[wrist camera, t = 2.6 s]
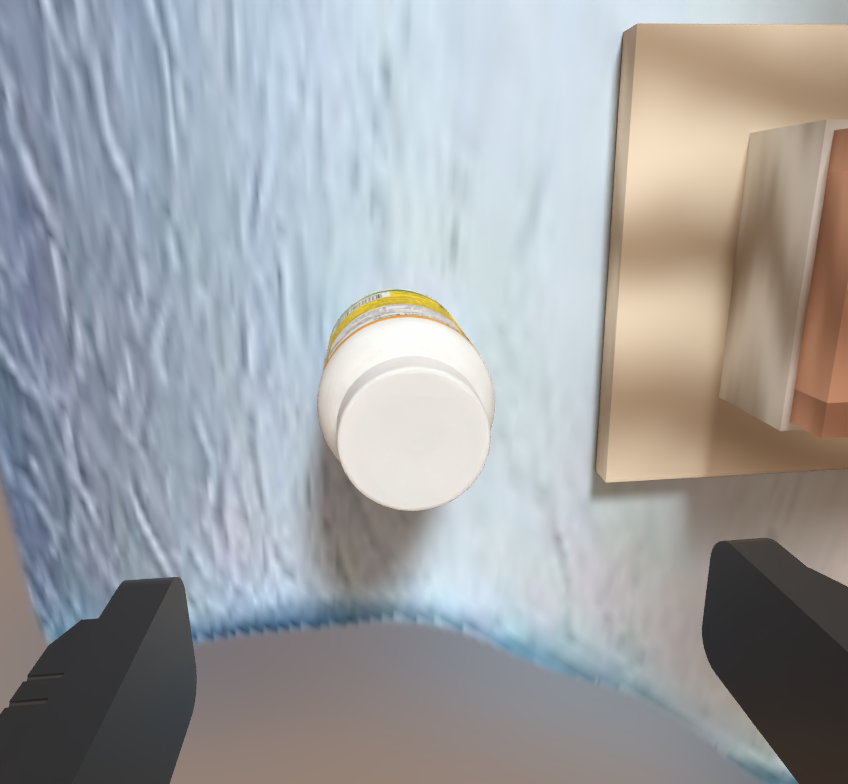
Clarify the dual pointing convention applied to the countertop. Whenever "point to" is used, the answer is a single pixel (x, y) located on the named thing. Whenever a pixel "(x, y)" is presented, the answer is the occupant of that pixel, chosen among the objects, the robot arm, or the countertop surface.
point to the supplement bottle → (405, 401)
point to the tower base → (728, 254)
